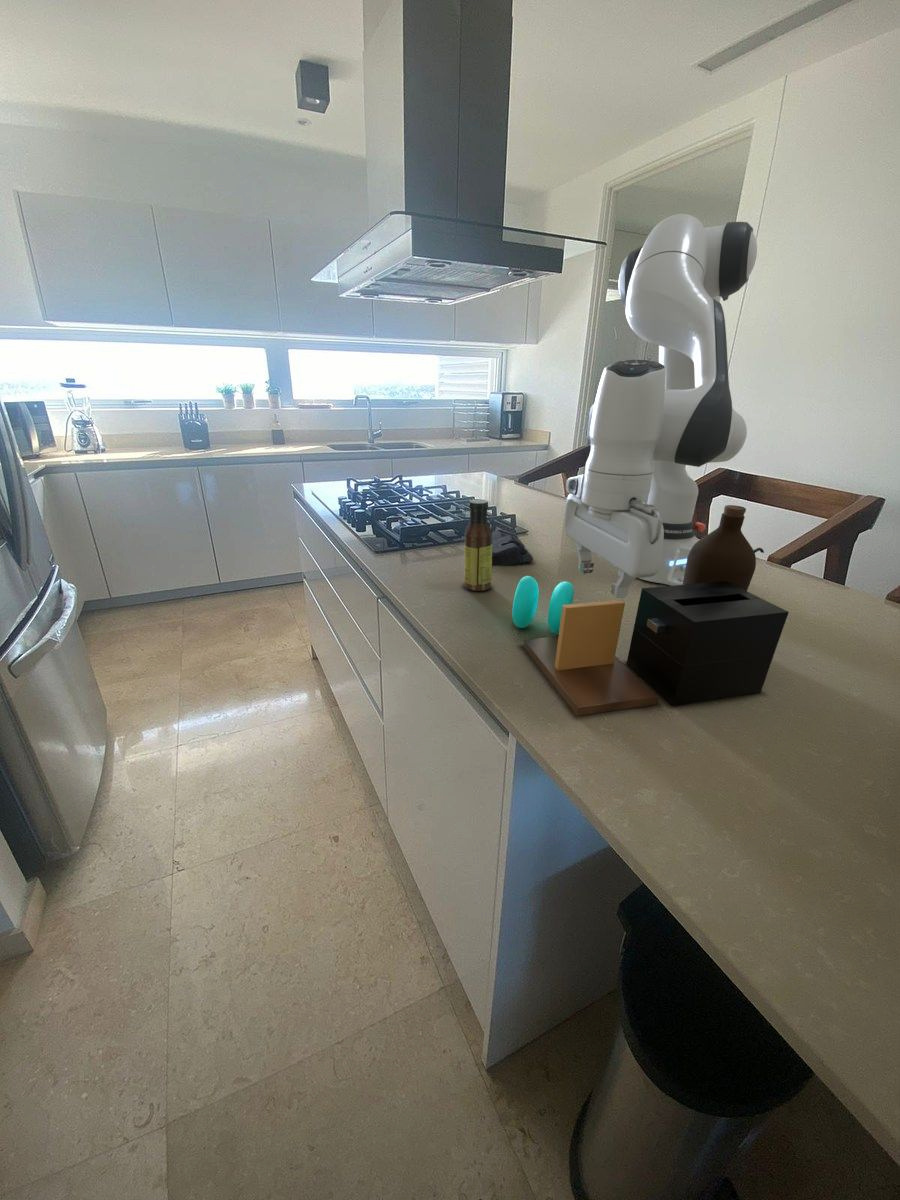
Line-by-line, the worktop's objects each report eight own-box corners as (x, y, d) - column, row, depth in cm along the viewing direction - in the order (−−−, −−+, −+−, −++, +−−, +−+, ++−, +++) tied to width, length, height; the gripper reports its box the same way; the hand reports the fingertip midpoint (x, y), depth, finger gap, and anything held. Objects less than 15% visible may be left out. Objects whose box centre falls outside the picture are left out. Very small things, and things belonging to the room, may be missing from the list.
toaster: (705, 654, 86) (726, 580, 80) (760, 692, 75) (789, 611, 70) (617, 665, 82) (632, 588, 76) (662, 707, 71) (684, 623, 65)
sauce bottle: (491, 582, 114) (496, 498, 106) (490, 593, 108) (496, 505, 100) (463, 581, 114) (466, 496, 106) (461, 591, 109) (464, 503, 100)
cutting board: (588, 639, 90) (590, 632, 89) (656, 704, 72) (658, 695, 71) (523, 647, 87) (524, 639, 86) (576, 716, 69) (578, 707, 68)
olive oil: (704, 658, 85) (744, 517, 74) (657, 631, 93) (686, 502, 83) (744, 646, 89) (787, 511, 79) (695, 622, 98) (727, 498, 87)
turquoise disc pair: (562, 645, 87) (570, 594, 83) (508, 635, 90) (513, 585, 86) (570, 622, 96) (577, 575, 92) (520, 613, 99) (525, 567, 95)
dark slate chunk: (521, 540, 145) (523, 524, 143) (534, 566, 125) (536, 548, 123) (470, 539, 145) (471, 523, 143) (474, 564, 125) (475, 547, 123)
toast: (609, 660, 80) (621, 599, 76) (613, 663, 79) (625, 602, 75) (554, 666, 78) (562, 604, 73) (557, 670, 77) (566, 608, 72)
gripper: (686, 508, 59) (663, 610, 64) (597, 476, 77) (586, 559, 82) (640, 510, 57) (621, 615, 63) (561, 477, 75) (552, 562, 81)
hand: (600, 583), depth 73 cm, fingers open, 8 cm apart
